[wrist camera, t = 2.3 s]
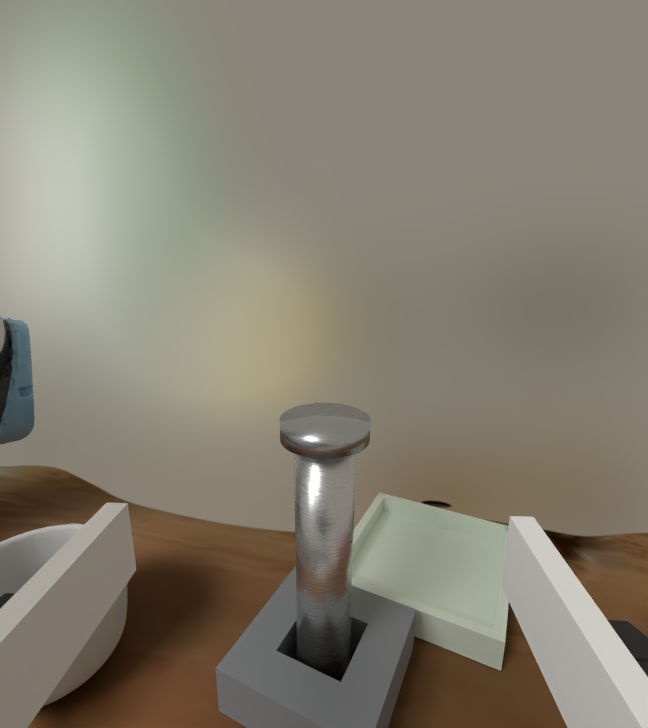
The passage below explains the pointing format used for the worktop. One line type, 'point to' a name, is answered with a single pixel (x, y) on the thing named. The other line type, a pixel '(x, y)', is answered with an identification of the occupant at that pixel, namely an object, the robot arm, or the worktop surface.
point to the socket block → (308, 686)
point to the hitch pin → (324, 527)
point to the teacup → (23, 560)
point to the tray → (437, 573)
